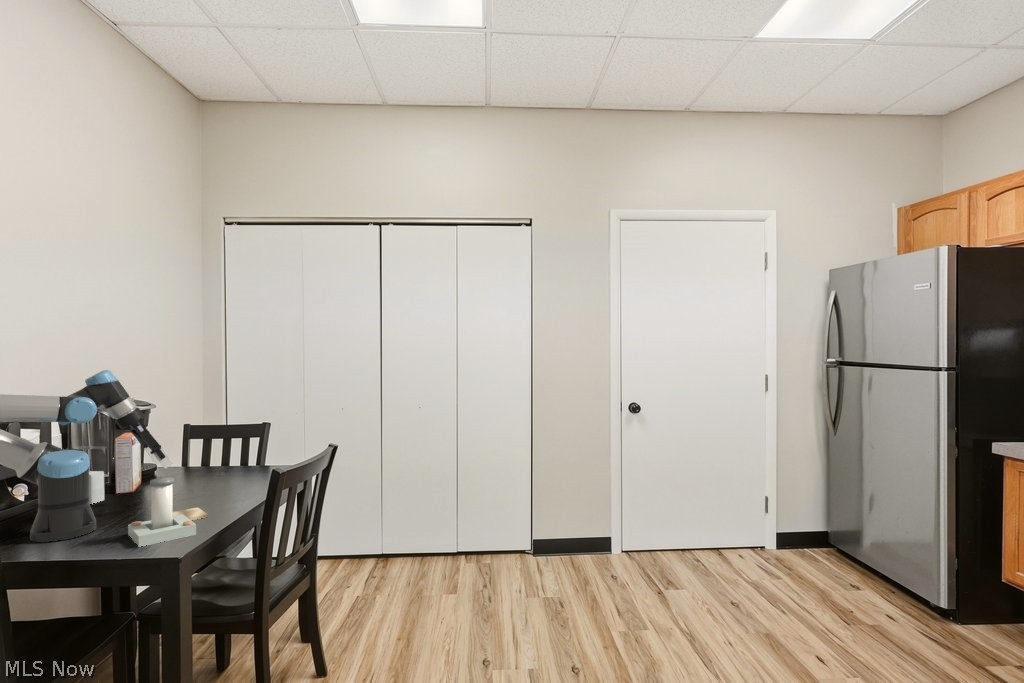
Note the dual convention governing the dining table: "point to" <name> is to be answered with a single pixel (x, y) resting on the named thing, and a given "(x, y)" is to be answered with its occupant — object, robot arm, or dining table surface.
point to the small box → (96, 486)
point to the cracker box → (127, 463)
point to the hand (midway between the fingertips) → (164, 463)
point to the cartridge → (161, 502)
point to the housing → (161, 531)
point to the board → (192, 513)
